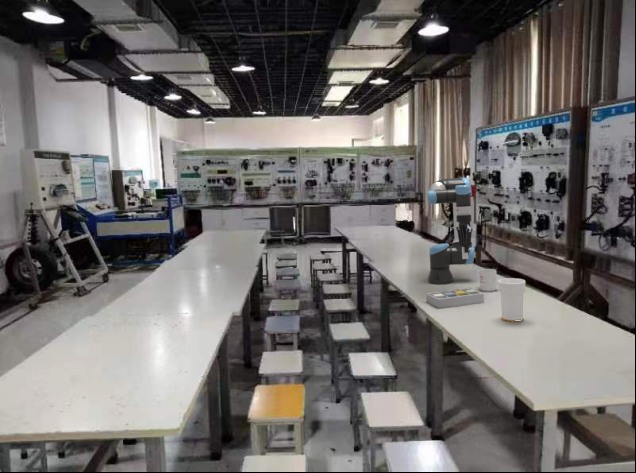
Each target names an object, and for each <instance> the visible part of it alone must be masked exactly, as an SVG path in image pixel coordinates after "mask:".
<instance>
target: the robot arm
mask: <svg viewBox="0 0 636 473" xmlns="http://www.w3.org/2000/svg"><path fill="white" fill-rule="evenodd" d="M426 194H427V195H426V196H427V204H429V205H438V204H439V205H441V204H452V208H453V210H452V212H453V213H452V214H453V232H454V241H452V243H451V244H452V245H450V244H449V243H447V242H446V243H438V244H433V245H432V246H430V247H429V254H428V255H429V273H428V277H427V283H428V284H431V285H432V284H433V285H446V284H451V283H453V282H454V277H453V275H452V272H451V269H450V268H451V266H452V265H455V266H457V265H458V266H459V265H461V266H462V265H465V266H466V265H472V264H473V263H474V260H475V251H476V250H475V249H476V247H475V246H476V245H475V244H473V242H472V235H473V234H472V233H473V227H470V225H471V224H470V222H472V205H471V201H472V200H471V197H472V196H473V192H472V185H471V182H470V178H468V177H454V178H453V177H452V178H443V179H442V178H441V179H439V180H436V181H435V182H433V183H432V184H431V185H430V187H429V190H428V191H427V193H426Z"/></svg>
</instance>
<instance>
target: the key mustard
mask: <svg viewBox="0 0 636 473" xmlns="http://www.w3.org/2000/svg"><path fill="white" fill-rule="evenodd" d="M454 293H455V294H457V295H460V296H463V295H466V292H463V291H456V292H454Z"/></svg>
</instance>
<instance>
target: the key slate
mask: <svg viewBox="0 0 636 473" xmlns="http://www.w3.org/2000/svg"><path fill="white" fill-rule="evenodd" d="M443 294H444V295H446V296H448V297H455V294H454V293H452V292H448V293H443Z"/></svg>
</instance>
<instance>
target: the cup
mask: <svg viewBox="0 0 636 473" xmlns="http://www.w3.org/2000/svg"><path fill="white" fill-rule="evenodd" d="M497 286H498V287H497V289H498V291H499V293H500V298H501V300H500V301H501V303H500V304H501V320H502V321H505V320H507V321H506V322H509V321H515V320H521V319H523V320H524V293H525V292H526V280H525V279H522V278H514V277H513V278H512V277H511V278H510V277H509V278H508V277H507V278H500V279H498V280H497Z"/></svg>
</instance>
